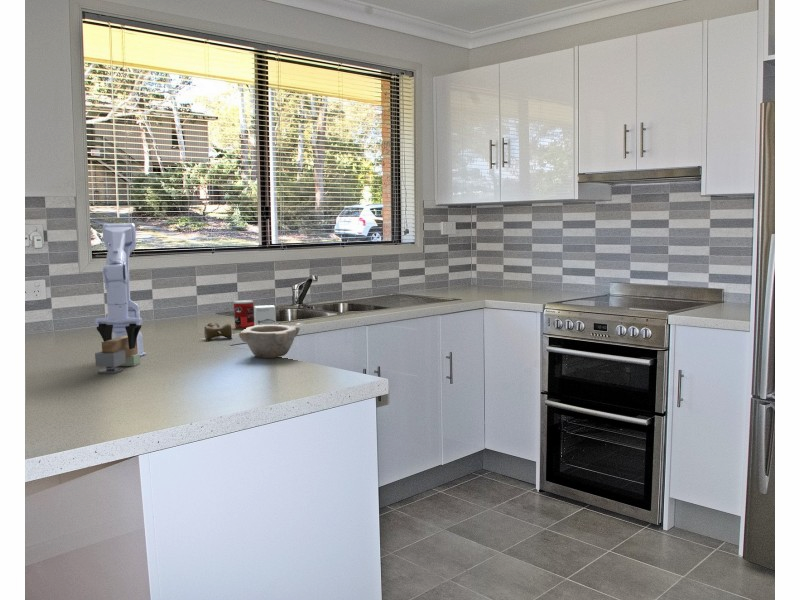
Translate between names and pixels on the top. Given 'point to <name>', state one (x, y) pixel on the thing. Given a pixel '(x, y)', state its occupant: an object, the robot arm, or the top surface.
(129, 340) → the robot arm
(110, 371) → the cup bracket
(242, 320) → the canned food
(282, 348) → the mortar
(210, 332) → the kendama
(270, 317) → the supplement box
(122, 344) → the walnut rail
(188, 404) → the top surface
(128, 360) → the block
